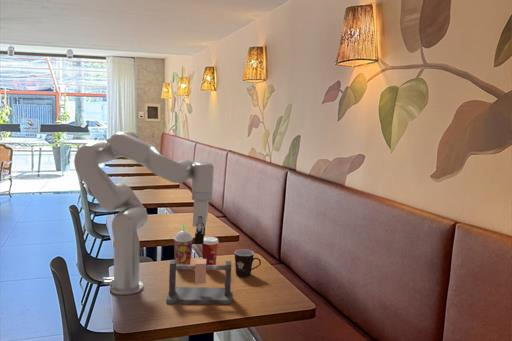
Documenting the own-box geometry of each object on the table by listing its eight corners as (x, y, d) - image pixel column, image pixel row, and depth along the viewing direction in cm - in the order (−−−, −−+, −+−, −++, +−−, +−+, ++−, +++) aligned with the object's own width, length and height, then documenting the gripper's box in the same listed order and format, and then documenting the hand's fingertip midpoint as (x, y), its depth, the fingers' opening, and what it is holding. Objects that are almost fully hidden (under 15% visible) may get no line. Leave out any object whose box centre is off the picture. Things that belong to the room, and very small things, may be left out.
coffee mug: (229, 273, 190) (230, 251, 189) (244, 269, 196) (245, 248, 194) (246, 282, 182) (247, 259, 180) (261, 277, 187) (262, 255, 186)
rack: (166, 303, 159) (167, 267, 157) (169, 290, 170) (170, 256, 167) (231, 303, 161) (233, 268, 159) (230, 291, 172) (232, 257, 170)
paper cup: (214, 273, 190) (215, 242, 187) (198, 270, 191) (199, 240, 189) (219, 266, 197) (221, 237, 195) (203, 264, 199) (204, 235, 197)
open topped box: (194, 282, 161) (195, 263, 160) (195, 277, 167) (196, 258, 166) (205, 283, 162) (206, 264, 161) (205, 277, 167) (206, 258, 166)
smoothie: (173, 264, 197) (174, 221, 194) (191, 263, 199) (192, 222, 196) (173, 271, 189) (174, 227, 186) (192, 270, 191) (193, 227, 188)
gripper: (193, 190, 168) (191, 232, 171) (190, 200, 151) (187, 246, 154) (212, 191, 169) (210, 233, 172) (211, 201, 152) (208, 247, 155)
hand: (199, 239), depth 163 cm, fingers open, 9 cm apart
